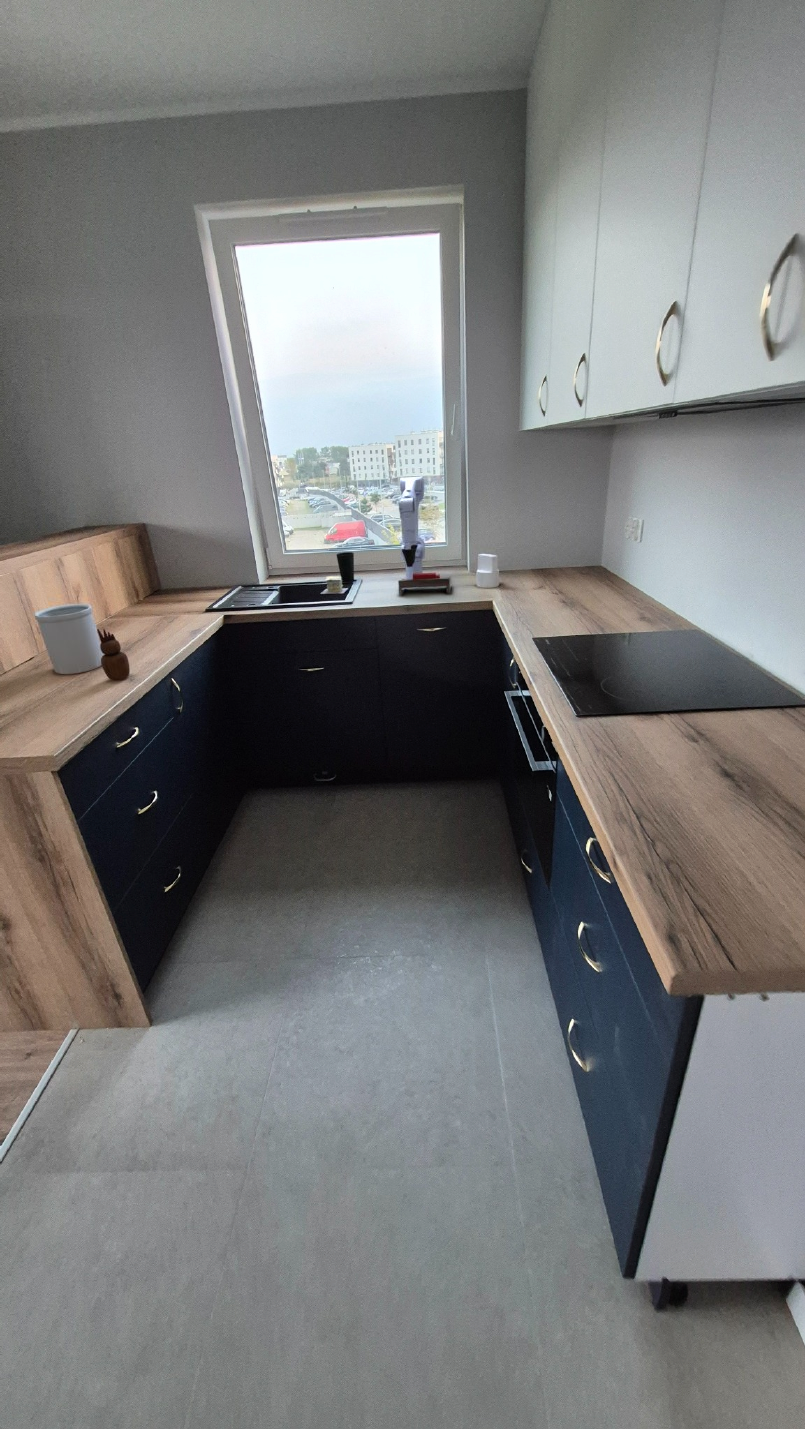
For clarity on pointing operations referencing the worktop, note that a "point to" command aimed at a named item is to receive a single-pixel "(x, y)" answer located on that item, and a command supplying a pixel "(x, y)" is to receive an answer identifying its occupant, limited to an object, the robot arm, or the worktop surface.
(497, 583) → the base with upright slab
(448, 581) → the shelf
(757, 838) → the worktop surface
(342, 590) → the stacked layers on plate
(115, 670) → the wooden figurine
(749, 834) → the worktop surface
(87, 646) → the utensil holder
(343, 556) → the cup
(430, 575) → the crayon
